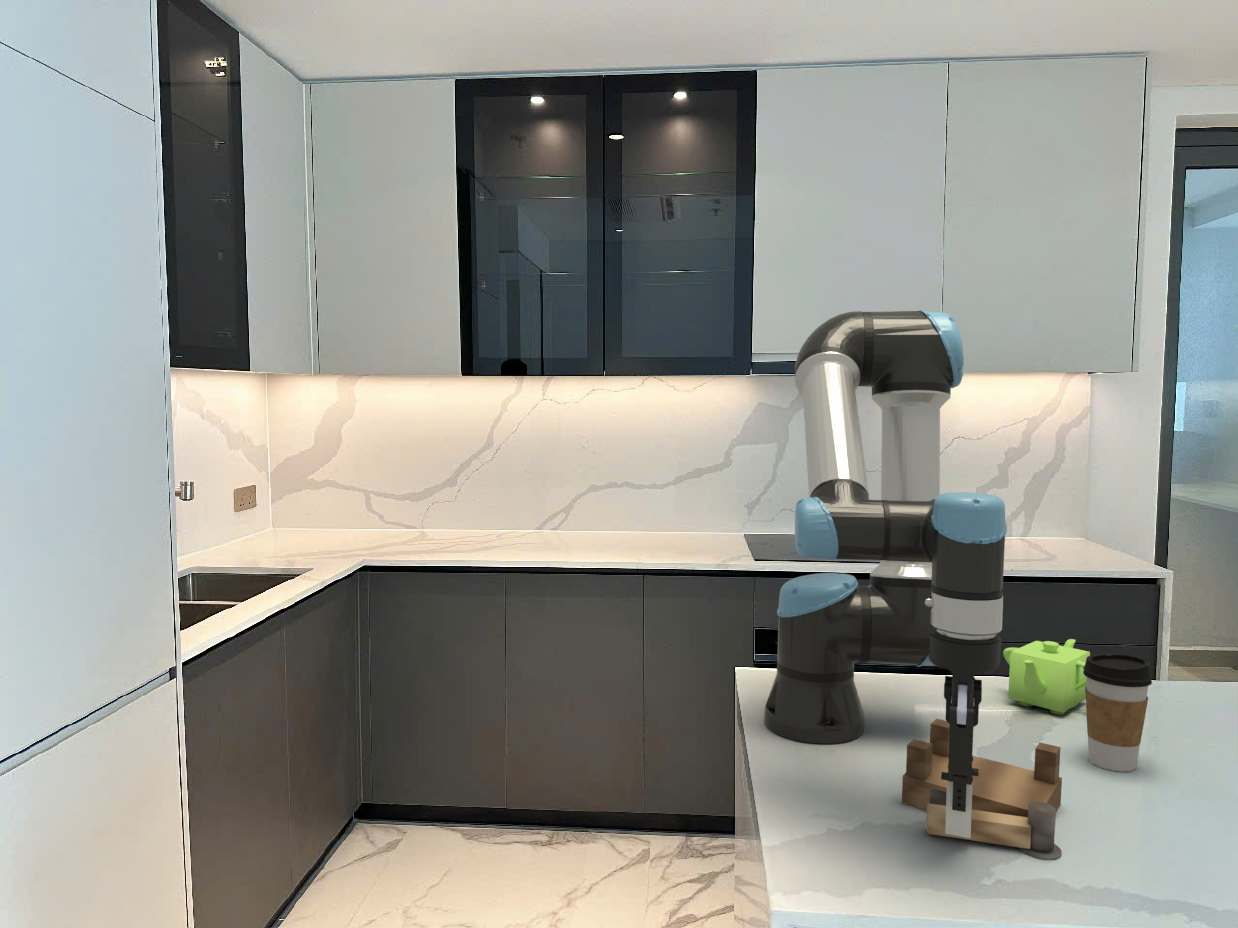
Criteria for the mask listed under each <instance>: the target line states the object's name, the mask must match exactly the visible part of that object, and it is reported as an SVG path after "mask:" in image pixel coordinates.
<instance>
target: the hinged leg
mask: <svg viewBox="0 0 1238 928" xmlns="http://www.w3.org/2000/svg"><path fill="white" fill-rule="evenodd" d="M1056 814H1057V812H1056V809H1055V807H1053V806H1052V805H1050V804H1047V803H1044V802H1037V801H1035V802H1030V803H1029V805H1028V817H1021V816H1014V815H1007V814H1000V813H993V812H985V811H978V810H972V814H971V838H966V837H960V836H955V835H949V834H945V826H946V806H943V805H936V804H929V803H927V810H926V825H925V826H926V834H928V835H934V836H935V835H936V836H943V837H947V838H948V837H949V838H957V839H961V840H968V841H975V842H981V843H987V844H988V843H989V844H995V845H1003V846H1008V847H1013V848H1019V847H1020V848H1027V849H1030V847H1031V848H1033V849H1035V850H1038V851H1043V852H1049V851H1052V850H1053V849H1054V844H1055V834H1056V833H1055V831H1056V817H1057V815H1056ZM1020 848H1019V849H1020Z"/></svg>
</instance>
